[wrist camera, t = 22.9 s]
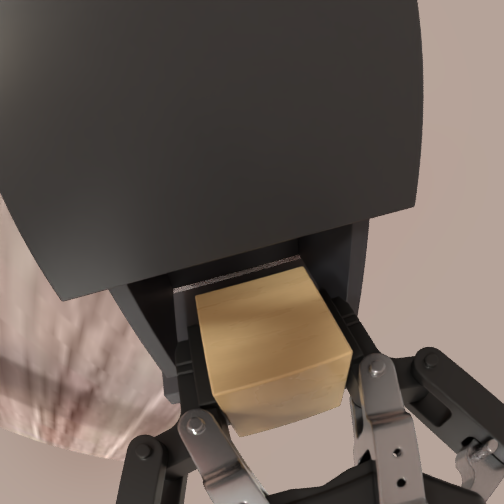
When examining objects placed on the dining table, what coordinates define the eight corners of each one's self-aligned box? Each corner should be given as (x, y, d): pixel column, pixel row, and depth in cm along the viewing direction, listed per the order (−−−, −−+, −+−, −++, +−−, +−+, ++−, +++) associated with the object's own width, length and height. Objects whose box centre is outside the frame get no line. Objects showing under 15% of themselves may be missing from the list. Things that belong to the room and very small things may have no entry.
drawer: (314, 310, 25) (353, 384, 19) (184, 347, 24) (197, 431, 18) (301, 76, 14) (393, 96, 8) (90, 125, 13) (30, 182, 7)
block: (219, 356, 14) (239, 438, 10) (194, 294, 11) (212, 396, 8) (305, 331, 14) (340, 406, 11) (303, 264, 11) (354, 351, 8)
